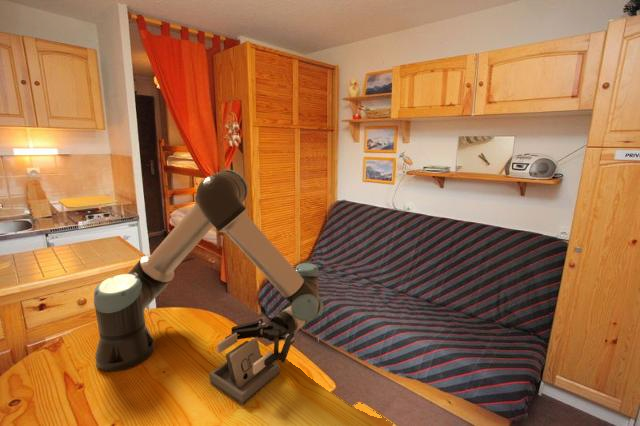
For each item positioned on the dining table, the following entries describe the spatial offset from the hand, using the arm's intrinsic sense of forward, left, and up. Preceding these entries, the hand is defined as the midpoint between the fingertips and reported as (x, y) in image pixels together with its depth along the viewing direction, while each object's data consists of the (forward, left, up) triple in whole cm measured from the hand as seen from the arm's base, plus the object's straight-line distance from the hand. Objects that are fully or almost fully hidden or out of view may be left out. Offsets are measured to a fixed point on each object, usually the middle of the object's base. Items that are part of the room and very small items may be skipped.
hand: (235, 358), depth 85 cm
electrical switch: (0, +3, -8) cm, 8 cm away
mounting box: (0, +3, -8) cm, 9 cm away
